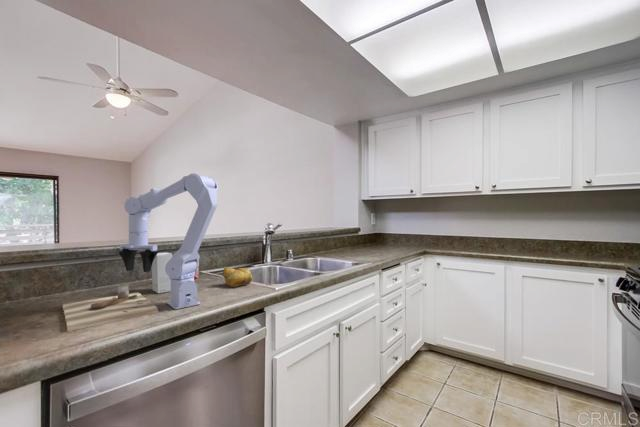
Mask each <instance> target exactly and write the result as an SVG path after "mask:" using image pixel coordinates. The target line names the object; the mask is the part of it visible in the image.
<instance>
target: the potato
mask: <svg viewBox="0 0 640 427" xmlns="http://www.w3.org/2000/svg"><path fill="white" fill-rule="evenodd" d="M222 277H223V278H224V281H225V284H226V286H227V287H233V288H235V287H239V286H241V287H242V286H245V285H248V284H250V283H251V281H253V276H252V272H251V271H250V270H249V268H245V267H239V268H236V269H235V268H233V267H229V266H225V267H224V268H223V271H222Z"/></svg>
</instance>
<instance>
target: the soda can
mask: <svg viewBox="0 0 640 427" xmlns="http://www.w3.org/2000/svg"><path fill="white" fill-rule="evenodd" d="M197 253H198V254H199V251H198V252H197ZM199 270H200V260H199V261H198V269H197V270H196V271H195V275H194V281H195V283H196V282H197V281H198V280H199V279H200V278H199V277H200V276H199V275H200V274H199V273H200V271H199Z"/></svg>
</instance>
